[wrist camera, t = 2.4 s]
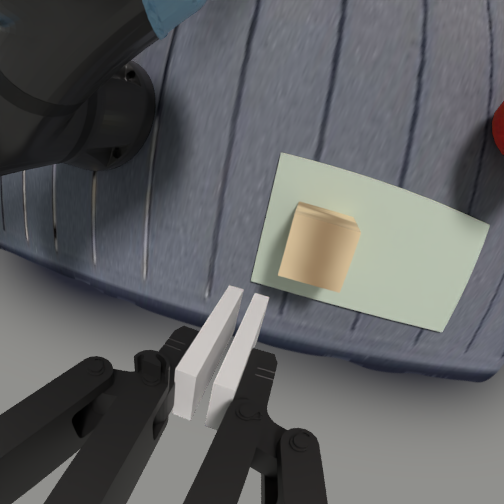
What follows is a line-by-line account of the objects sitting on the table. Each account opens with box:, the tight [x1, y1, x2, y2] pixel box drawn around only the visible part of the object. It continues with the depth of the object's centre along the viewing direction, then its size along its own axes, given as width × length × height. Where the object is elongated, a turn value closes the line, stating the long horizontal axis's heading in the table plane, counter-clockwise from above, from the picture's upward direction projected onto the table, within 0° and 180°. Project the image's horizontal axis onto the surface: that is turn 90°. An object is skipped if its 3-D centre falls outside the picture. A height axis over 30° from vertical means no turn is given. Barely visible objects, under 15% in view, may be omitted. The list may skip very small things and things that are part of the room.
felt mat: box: [251, 153, 490, 332], centre depth 31 cm, size 26×15×1 cm, turn 78°
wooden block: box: [278, 201, 361, 293], centre depth 29 cm, size 6×6×6 cm
